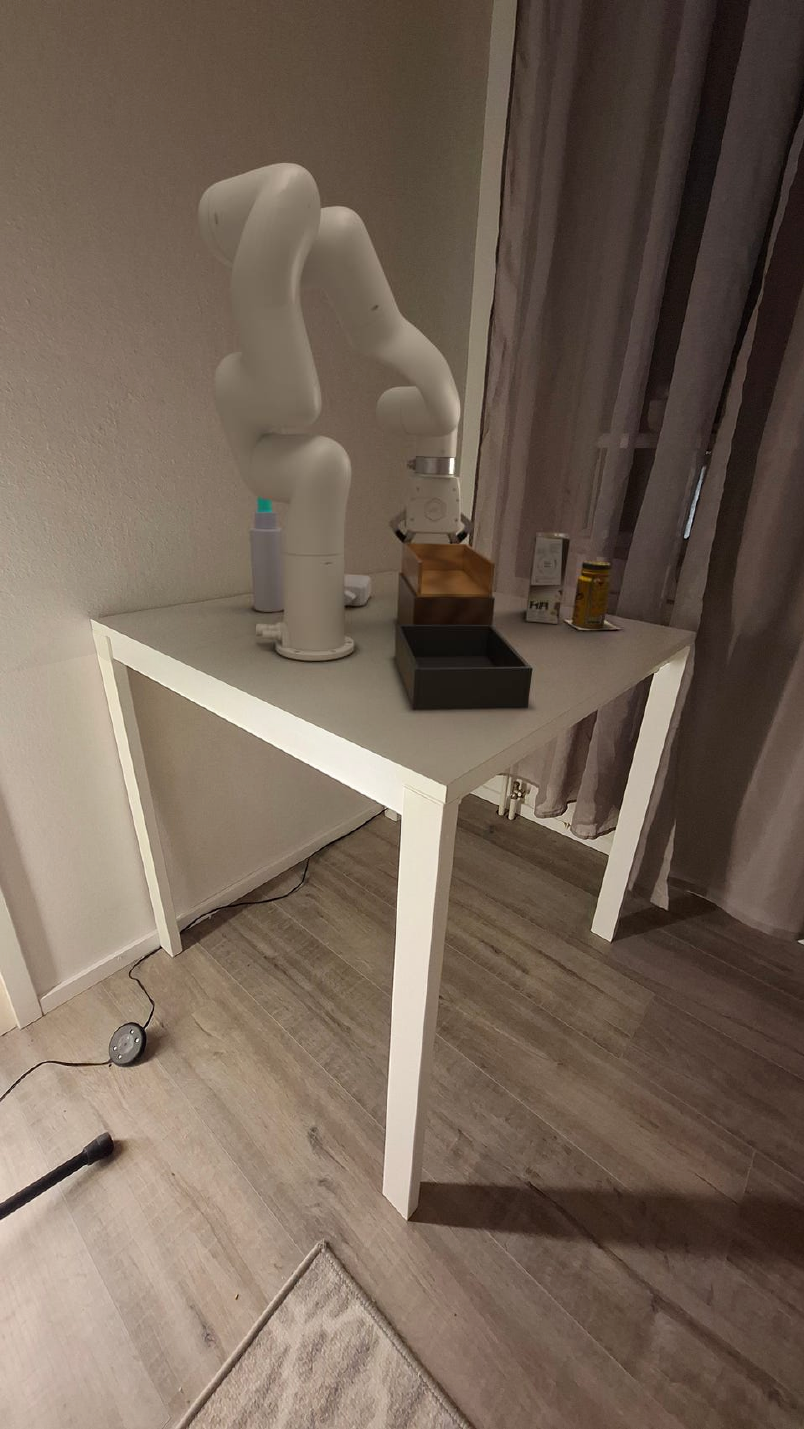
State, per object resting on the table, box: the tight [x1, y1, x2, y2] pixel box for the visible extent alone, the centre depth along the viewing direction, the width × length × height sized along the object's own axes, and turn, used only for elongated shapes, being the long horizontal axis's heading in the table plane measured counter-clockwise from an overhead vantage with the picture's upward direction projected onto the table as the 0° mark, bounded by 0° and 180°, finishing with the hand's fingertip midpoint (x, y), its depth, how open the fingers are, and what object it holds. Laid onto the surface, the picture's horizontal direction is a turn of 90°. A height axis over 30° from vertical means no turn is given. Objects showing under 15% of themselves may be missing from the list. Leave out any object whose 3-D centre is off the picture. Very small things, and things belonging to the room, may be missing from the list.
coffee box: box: [525, 531, 571, 625], centre depth 120 cm, size 9×6×16 cm
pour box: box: [401, 542, 496, 598], centre depth 108 cm, size 12×26×5 cm, turn 7°
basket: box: [394, 624, 534, 711], centre depth 87 cm, size 15×20×6 cm
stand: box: [396, 572, 496, 625], centre depth 108 cm, size 13×20×9 cm, turn 7°
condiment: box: [564, 560, 621, 631], centre depth 117 cm, size 7×8×12 cm
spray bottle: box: [248, 496, 284, 613], centre depth 117 cm, size 6×6×22 cm
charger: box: [345, 573, 372, 607], centre depth 127 cm, size 5×9×15 cm
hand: (429, 565), depth 119 cm, fingers open, 7 cm apart
